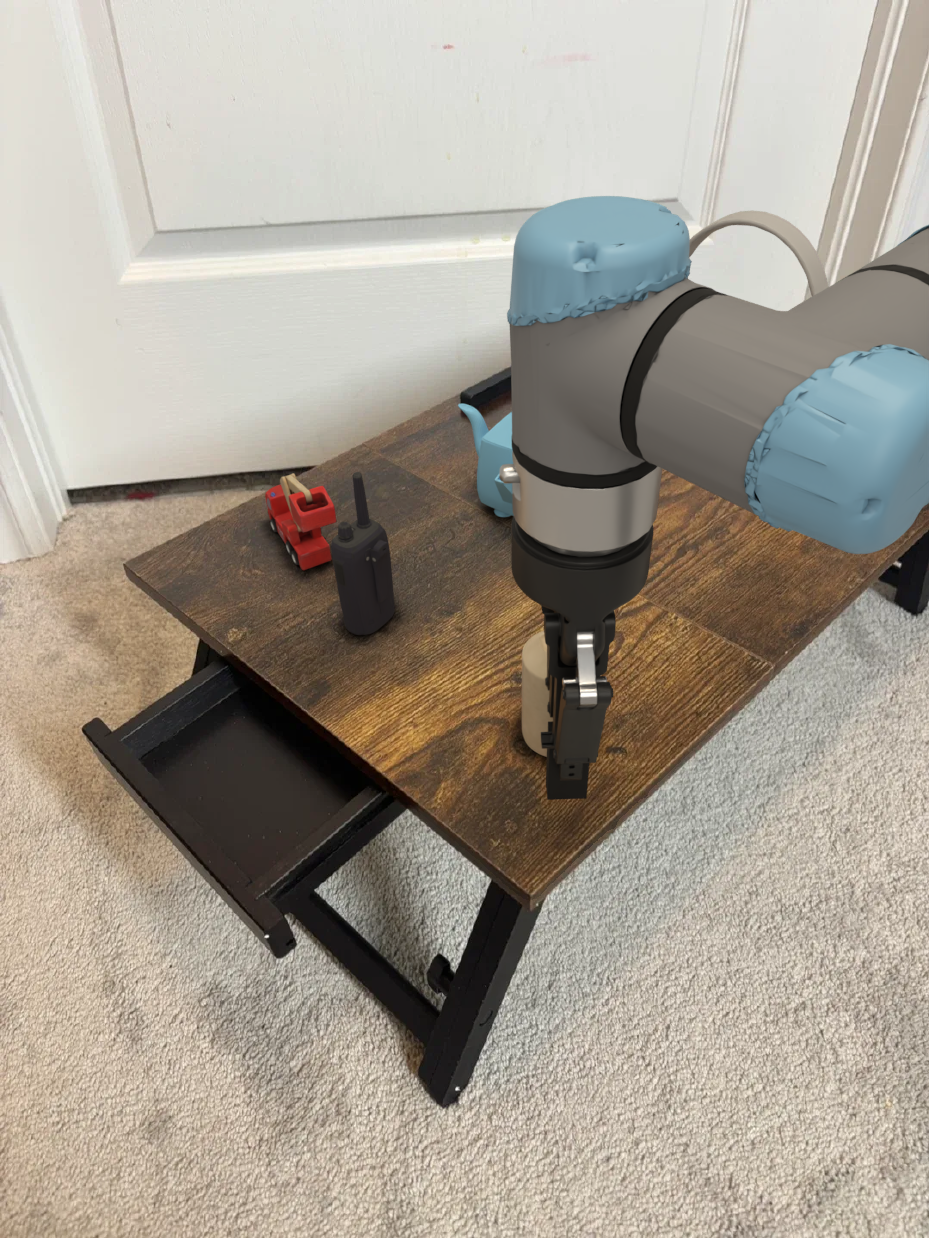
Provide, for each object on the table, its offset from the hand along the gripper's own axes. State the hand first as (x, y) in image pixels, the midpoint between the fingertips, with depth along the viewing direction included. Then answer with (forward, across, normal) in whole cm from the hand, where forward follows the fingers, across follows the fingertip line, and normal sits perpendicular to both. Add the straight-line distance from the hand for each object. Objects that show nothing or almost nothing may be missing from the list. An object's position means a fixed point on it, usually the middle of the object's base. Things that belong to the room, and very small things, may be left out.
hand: (565, 790), depth 65 cm
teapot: (+3, -38, 0) cm, 38 cm away
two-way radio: (+3, -22, -15) cm, 26 cm away
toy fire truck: (+4, -32, -22) cm, 39 cm away
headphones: (+3, -63, +26) cm, 68 cm away
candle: (+3, -8, 0) cm, 9 cm away
